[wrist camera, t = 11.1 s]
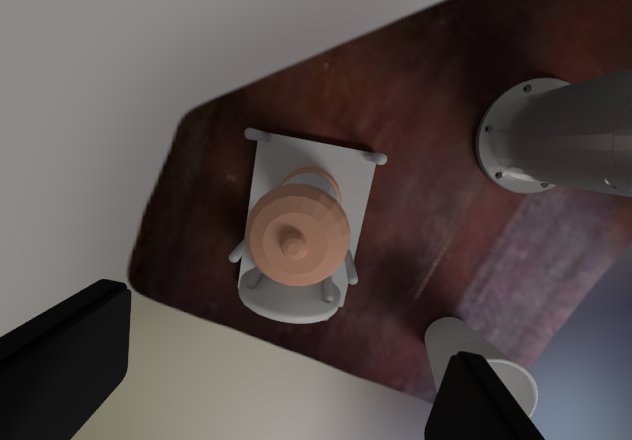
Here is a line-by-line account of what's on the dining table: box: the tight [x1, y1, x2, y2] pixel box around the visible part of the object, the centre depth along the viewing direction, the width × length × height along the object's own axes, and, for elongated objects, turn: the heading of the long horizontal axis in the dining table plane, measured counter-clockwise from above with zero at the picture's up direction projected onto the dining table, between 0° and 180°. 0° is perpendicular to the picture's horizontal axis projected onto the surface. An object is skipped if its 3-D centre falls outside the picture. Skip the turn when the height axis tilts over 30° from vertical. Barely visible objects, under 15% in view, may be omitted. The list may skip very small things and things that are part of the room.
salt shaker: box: [246, 167, 351, 286], centre depth 27 cm, size 7×7×19 cm
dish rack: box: [229, 128, 387, 323], centre depth 32 cm, size 14×20×12 cm
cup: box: [425, 317, 538, 418], centre depth 36 cm, size 10×10×11 cm
